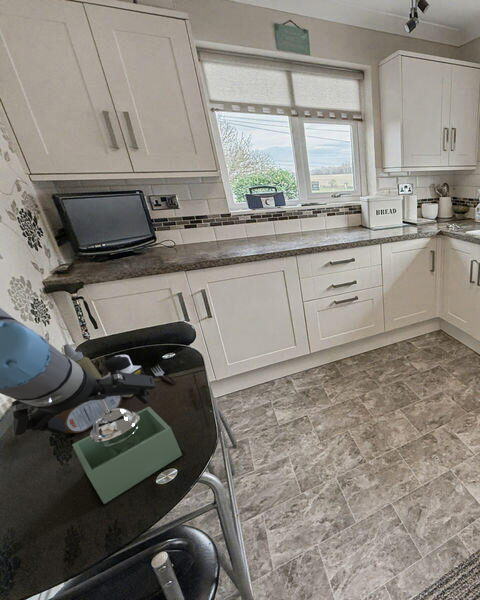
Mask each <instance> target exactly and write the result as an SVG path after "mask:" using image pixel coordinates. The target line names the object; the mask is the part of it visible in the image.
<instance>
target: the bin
mask: <svg viewBox="0 0 480 600" xmlns="http://www.w3.org/2000/svg"><path fill="white" fill-rule="evenodd" d="M136 413H137V415H139V421H138V422H137V424H138V426H137V427H138V433H139V436H140V440H141V443H140V444H138V445H136V446H134V447H132V448H131V449H129V450H127V451H125V452H123V453H122V454H120V455H118V456H116V457H114V458H113V457H112V456H111V455H110V453H109V452H108V451H107V450H106V448H105V447H103V446H102V445H101V444H100V443H99V442H94V441H92V440H91V439H90V435H88V436H86V437H84V438H81V439H80V440H78V441H76V442H74V443H72V444H71V446H72V448H73V450H74V452H75V454H76V456H77V458H78V460H79V462H80V464H81V467H82V468H83V470H84V472H85V474H86V476H87V478H88V480H89V481H90V483H91V485H92V487H93V488H94V490H95V491H96V494H97V495H98V497H99V498H100V500H101V502H102V503H103V505H105V504H107V503H109V502H110V501H112V500H113V499H115V498H117V497H119V496H120V495H121V494H123V493H125V492H126V491H128V490H129V489H131V488H133V487H134V486H135V485H137V484H139V483H141V482H142V481H143V480H146V479H147V478H148V477H150V476H151V475H153V474H155V473H157V472H158V471H160V470H161V469H163V468H164V467H166V466H167V465H169V464H170V463H172V462H173V461H175V460H177V459H179V458H180V457H181V456H183V453H182V451H181V449H180V446H179V444H178V441H177V439H176V436H175V434H174V432H173V430H172V427H171V426H170V425H168V424H167V423H166V421H164V420H163V419H162V417H160V416H159V414H157V413H156V411H154V410H153V409H152V407H150V406H147V407H145V408H143V409H141V410H139V411H137V412H136Z"/></svg>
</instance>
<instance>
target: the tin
mask: <svg viewBox="0 0 480 600" xmlns="http://www.w3.org/2000/svg"><path fill="white" fill-rule="evenodd" d="M104 400H105V402H106V404H107V406H108V408H109V410H110V409H114V408H120V406H121V404H122V402H123V397H122V395H121V396H108V397H107V398H105V399H104ZM104 412H105V410H104V408H103V406H102V405H101V403H100V401H99V400H91V401H89V402H83V403H81V404H79V405H78V406H76V407H74V408H72V409H70V410H67V411H63V412H62V413H60V414H58V415H57V416H56V417H57V418H60V419H63V420H64V424H65V430H66V433H65V434H81V433H83V432H86V431H87V430H89V429H90V428H93V424H94V422H95V420H96V419H97V418H98V417H99V416H100V415H101V414H102V413H104Z"/></svg>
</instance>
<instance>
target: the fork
mask: <svg viewBox="0 0 480 600" xmlns="http://www.w3.org/2000/svg"><path fill="white" fill-rule="evenodd" d="M151 371H152V374H154V376H155V377H162V379H163V380H164V381H166V382H167V383H170V384H171V385H173V384H174V382H173V381H172V380H171V379H170V378H169V376H167V375H164V374H165V371H163V370H162V368H161V367H160V365H157V366H155V367H153V368H152V369H151Z"/></svg>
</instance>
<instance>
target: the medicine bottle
mask: <svg viewBox="0 0 480 600" xmlns="http://www.w3.org/2000/svg"><path fill="white" fill-rule="evenodd" d="M103 365H104V367H105V369H106V371H107V374H106V375H104V376H103V377H102V379H103V378H106V377H109V376H110V375H111V374H110V372H111V371H114V370H119V371H121V372H123V373H130V374H139V375H146V374H145V372H144V370H143V367H142V365H133V362H132V360H131V358H130V356H129V355H127V354H117V355H114V356H112V357H110V358H108V359H107V360H106V361H104V363H103ZM132 396H133V395H122V398H130V397H132Z"/></svg>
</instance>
